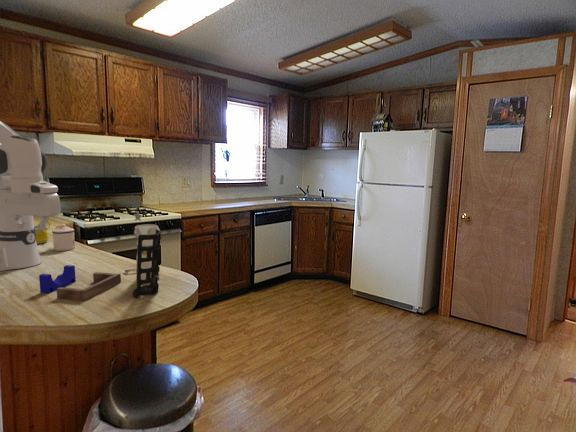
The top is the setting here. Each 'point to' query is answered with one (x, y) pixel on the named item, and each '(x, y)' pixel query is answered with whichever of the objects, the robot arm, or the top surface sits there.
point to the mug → (41, 234)
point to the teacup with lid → (63, 238)
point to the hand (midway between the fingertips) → (31, 228)
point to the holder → (149, 271)
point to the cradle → (90, 287)
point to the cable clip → (57, 280)
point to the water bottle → (145, 242)
